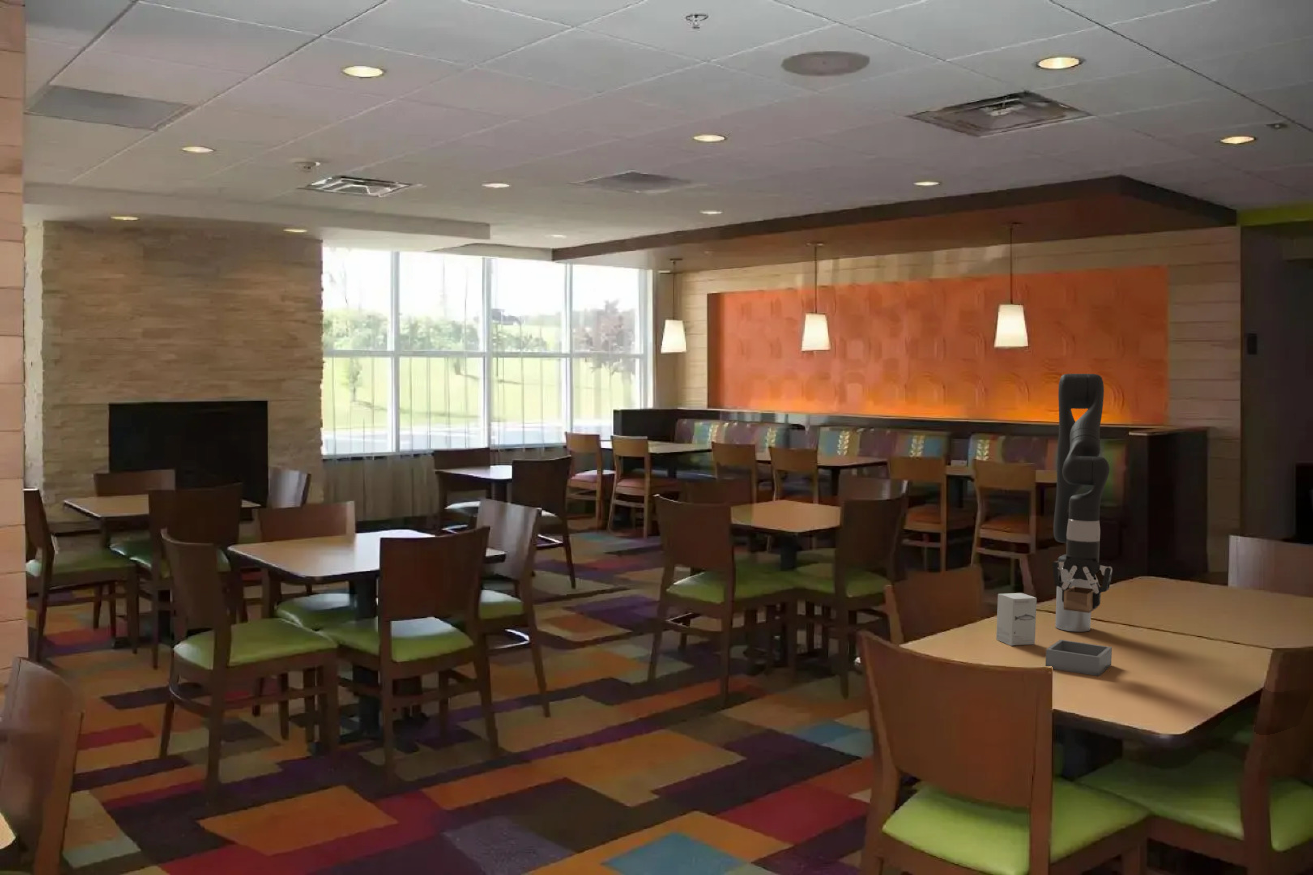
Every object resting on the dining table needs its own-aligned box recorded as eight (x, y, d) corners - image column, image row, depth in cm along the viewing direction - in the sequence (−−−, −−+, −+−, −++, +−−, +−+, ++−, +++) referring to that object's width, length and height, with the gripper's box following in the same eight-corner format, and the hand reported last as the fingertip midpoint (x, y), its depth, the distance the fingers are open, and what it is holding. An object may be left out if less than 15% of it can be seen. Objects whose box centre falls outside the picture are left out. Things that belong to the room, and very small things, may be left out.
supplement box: (1011, 646, 292) (1012, 598, 291) (995, 639, 299) (996, 593, 298) (1035, 644, 294) (1037, 597, 293) (1019, 638, 301) (1021, 592, 300)
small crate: (1072, 604, 276) (1072, 586, 276) (1097, 607, 273) (1098, 589, 273) (1063, 609, 270) (1064, 591, 270) (1089, 612, 266) (1089, 594, 266)
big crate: (1059, 657, 281) (1060, 639, 281) (1111, 665, 274) (1111, 647, 274) (1045, 667, 271) (1046, 649, 271) (1098, 676, 264) (1099, 657, 263)
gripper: (1118, 539, 269) (1115, 607, 270) (1057, 533, 278) (1054, 600, 279) (1110, 542, 263) (1107, 613, 264) (1048, 536, 271) (1046, 604, 273)
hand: (1080, 606), depth 271 cm, fingers closed on small crate, 6 cm apart
